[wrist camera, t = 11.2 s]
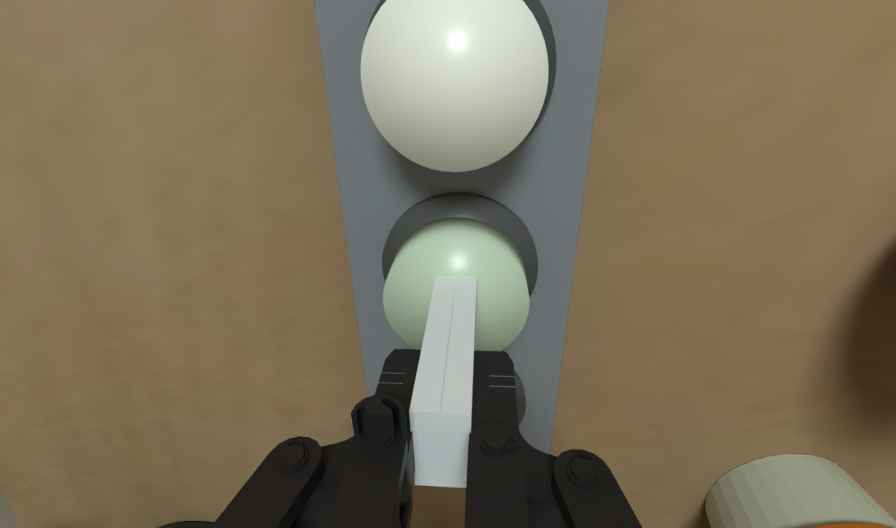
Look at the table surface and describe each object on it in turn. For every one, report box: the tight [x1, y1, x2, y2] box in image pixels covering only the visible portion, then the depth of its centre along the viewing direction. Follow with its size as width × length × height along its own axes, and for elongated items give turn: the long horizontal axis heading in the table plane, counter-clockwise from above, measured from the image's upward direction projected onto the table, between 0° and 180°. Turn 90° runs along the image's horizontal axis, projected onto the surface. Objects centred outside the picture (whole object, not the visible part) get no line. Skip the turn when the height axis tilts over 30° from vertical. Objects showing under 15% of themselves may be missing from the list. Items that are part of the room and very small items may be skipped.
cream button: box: [360, 0, 549, 172], centre depth 14 cm, size 6×6×2 cm
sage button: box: [383, 217, 529, 351], centre depth 18 cm, size 6×6×2 cm
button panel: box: [314, 0, 609, 454], centre depth 21 cm, size 10×24×4 cm, turn 1°
